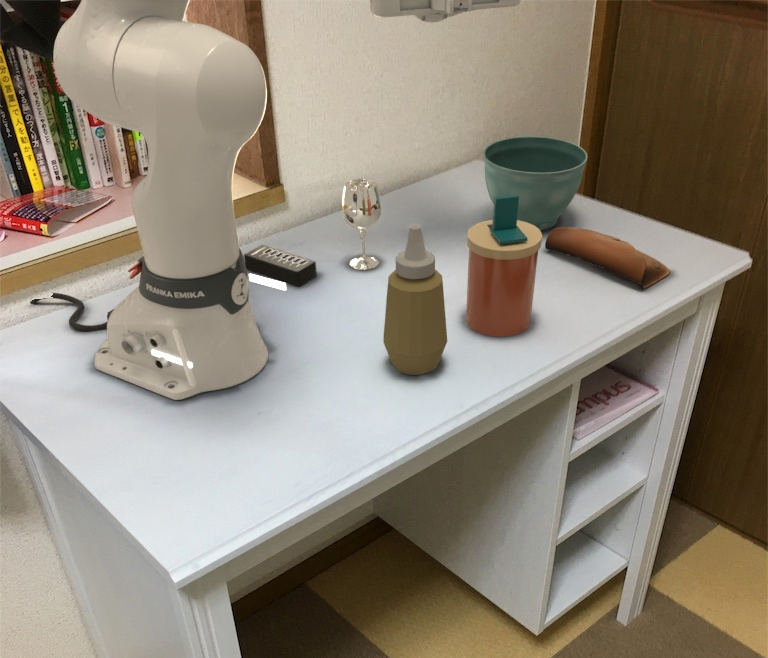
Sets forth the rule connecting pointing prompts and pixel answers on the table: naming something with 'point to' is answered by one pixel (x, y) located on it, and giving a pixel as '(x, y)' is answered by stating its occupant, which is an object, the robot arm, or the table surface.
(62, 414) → the table surface
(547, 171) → the flower pot
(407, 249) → the squeeze bottle
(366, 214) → the wineglass
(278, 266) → the multiport hub
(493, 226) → the teal l-shaped bracket
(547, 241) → the sunglasses case
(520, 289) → the lidded orange canister
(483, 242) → the cup lid
